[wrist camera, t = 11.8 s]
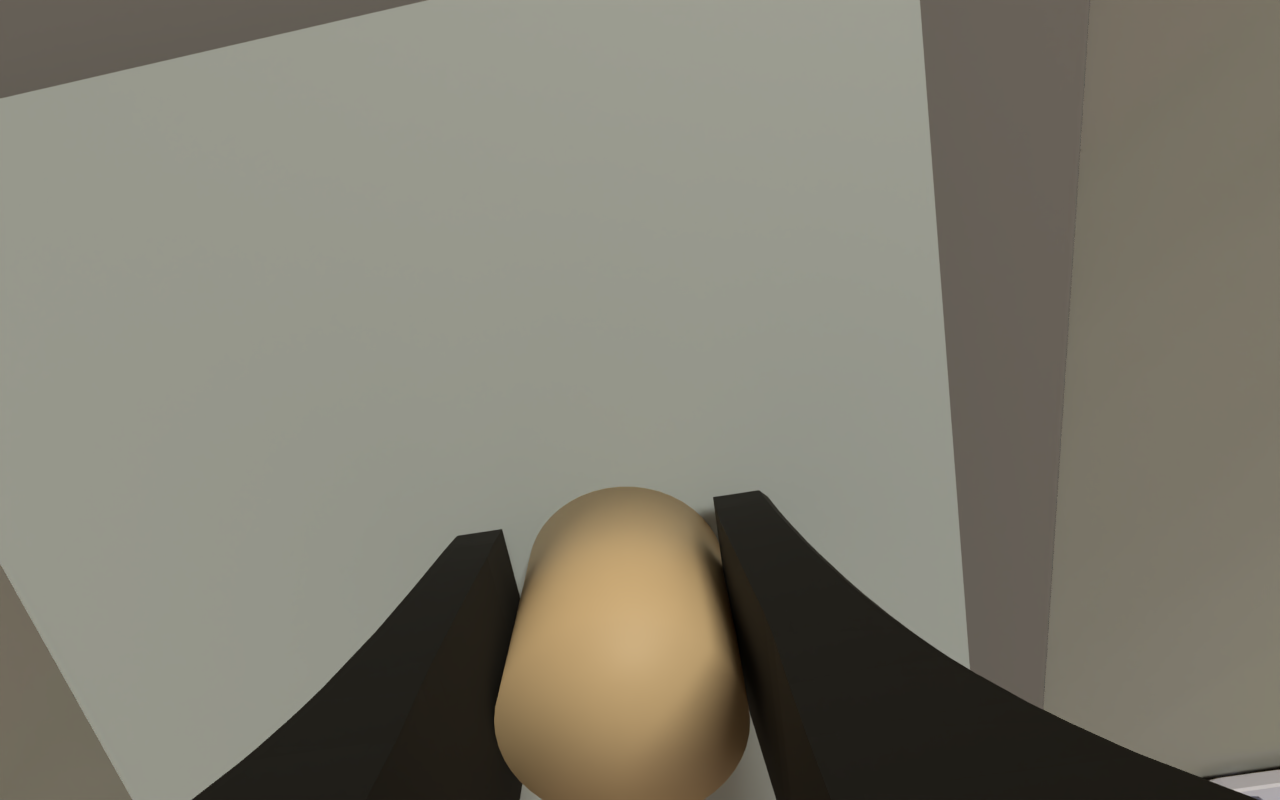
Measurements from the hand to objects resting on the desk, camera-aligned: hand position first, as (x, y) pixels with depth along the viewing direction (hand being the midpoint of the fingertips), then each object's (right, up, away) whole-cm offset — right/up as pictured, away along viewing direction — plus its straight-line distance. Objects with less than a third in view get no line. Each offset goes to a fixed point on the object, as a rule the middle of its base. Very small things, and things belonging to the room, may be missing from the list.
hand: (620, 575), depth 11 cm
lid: (-2, 0, +2) cm, 2 cm away
